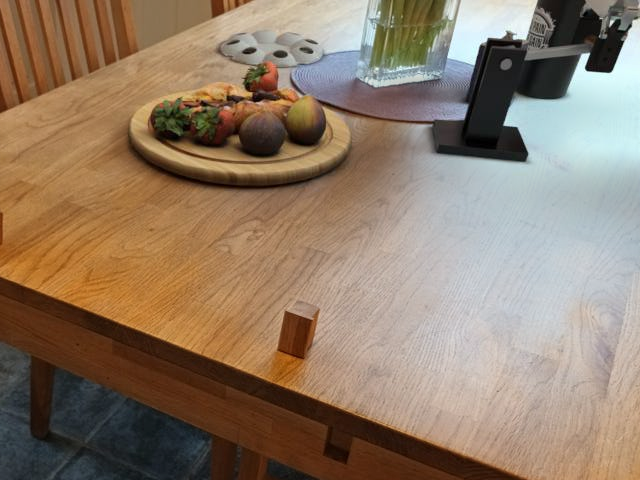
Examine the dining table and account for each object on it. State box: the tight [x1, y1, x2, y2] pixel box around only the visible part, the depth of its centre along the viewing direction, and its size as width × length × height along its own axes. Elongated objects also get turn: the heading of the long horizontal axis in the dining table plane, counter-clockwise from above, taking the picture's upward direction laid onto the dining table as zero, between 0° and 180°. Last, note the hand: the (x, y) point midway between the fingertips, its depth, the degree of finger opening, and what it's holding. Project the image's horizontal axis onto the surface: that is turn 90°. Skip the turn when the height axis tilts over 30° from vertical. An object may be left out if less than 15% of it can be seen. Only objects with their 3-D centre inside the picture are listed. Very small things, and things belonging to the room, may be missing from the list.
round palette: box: [219, 30, 323, 68], centre depth 138 cm, size 20×20×2 cm
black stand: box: [432, 37, 529, 162], centre depth 100 cm, size 12×10×14 cm
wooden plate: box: [127, 62, 353, 186], centre depth 102 cm, size 32×32×8 cm
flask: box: [464, 29, 529, 104], centre depth 116 cm, size 9×3×11 cm, turn 112°
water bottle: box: [514, 0, 586, 100], centre depth 116 cm, size 10×10×23 cm
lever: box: [503, 35, 596, 60], centre depth 96 cm, size 13×6×2 cm, turn 77°
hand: (589, 60), depth 95 cm, fingers open, 9 cm apart
